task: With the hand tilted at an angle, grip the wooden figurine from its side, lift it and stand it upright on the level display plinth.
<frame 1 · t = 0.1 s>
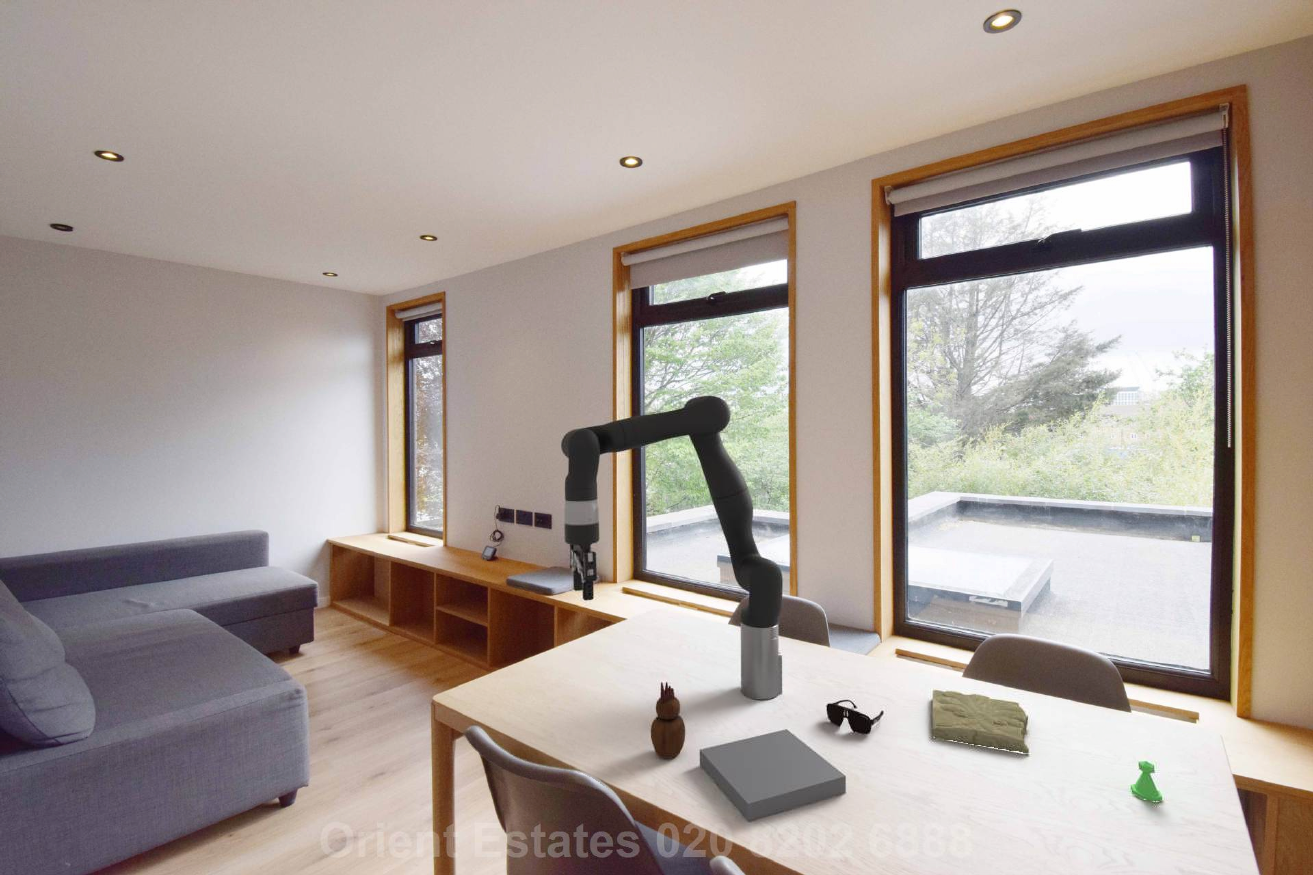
hand: (583, 594, 129), 29 cm above the table, tool pointing down, fingers open, 8 cm apart
sunglasses: (857, 722, 131), on the table
decorative tile: (979, 728, 129), on the table
wooden figurine: (668, 754, 118), on the table
display plinth: (769, 778, 109), on the table
game piece: (1146, 795, 104), on the table
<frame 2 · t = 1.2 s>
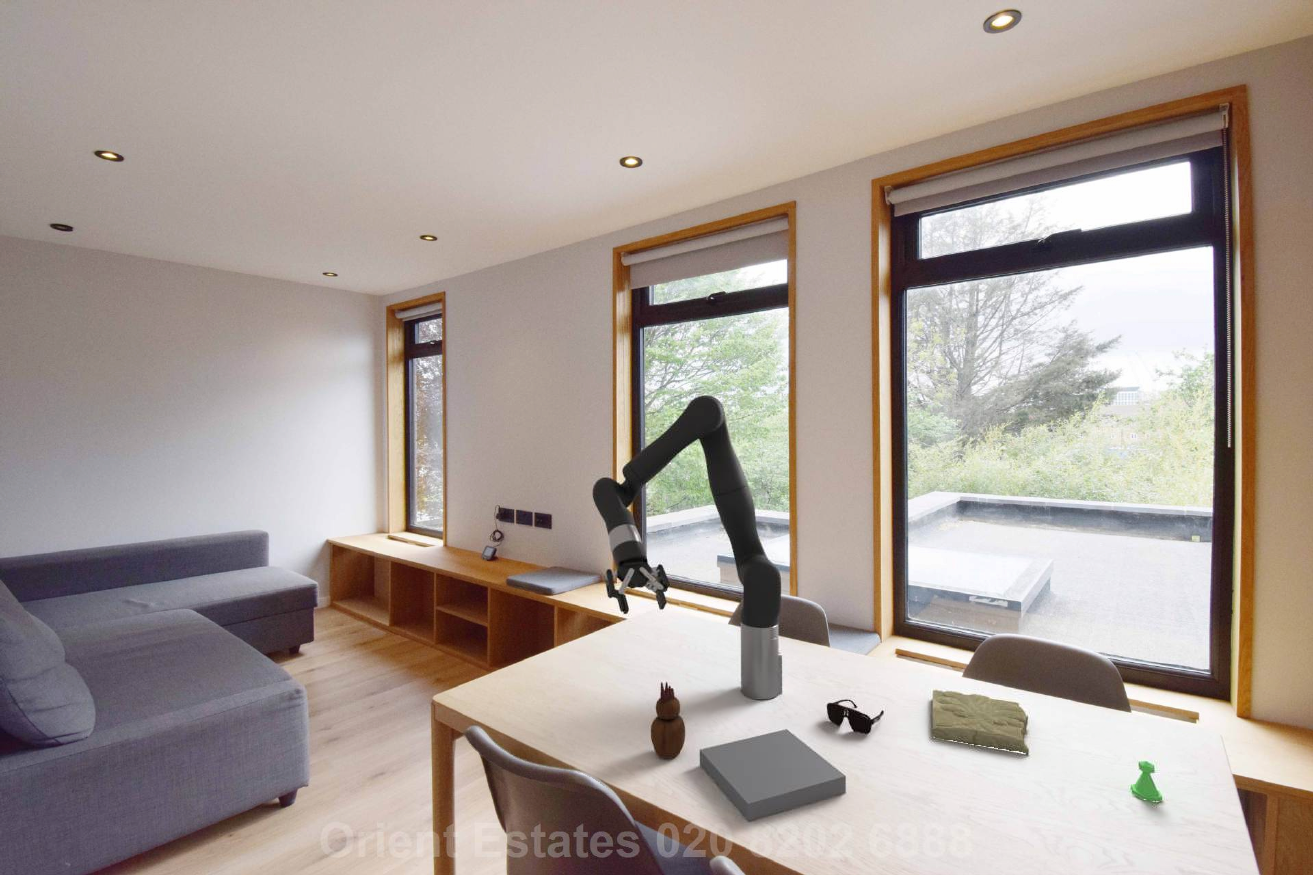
hand: (645, 609, 129), 25 cm above the table, tool tilted 45°, fingers open, 8 cm apart
nothing on the table moved.
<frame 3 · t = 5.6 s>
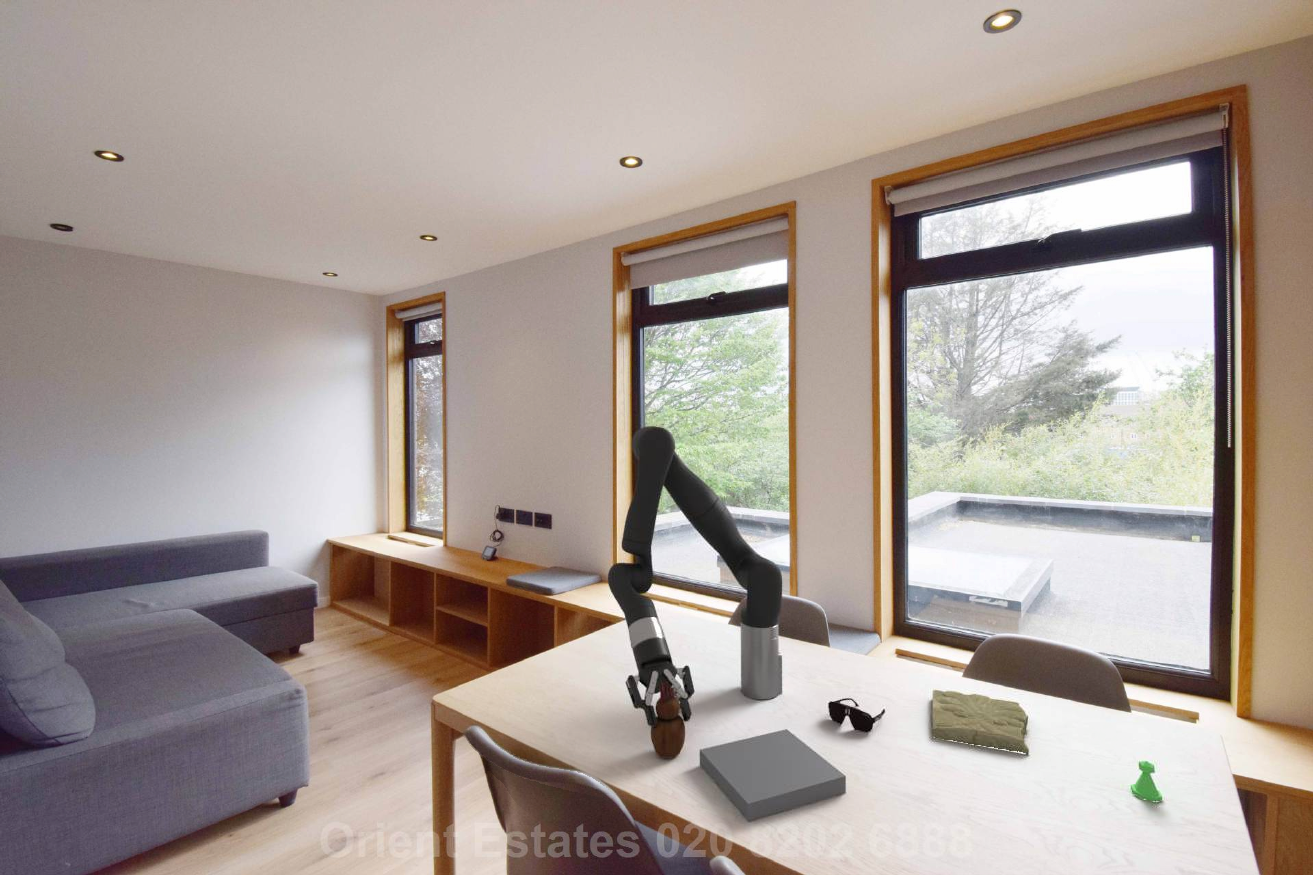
hand: (671, 723, 116), 7 cm above the table, tool tilted 45°, fingers closed on wooden figurine, 6 cm apart
wooden figurine: (668, 754, 118), on the table, touching gripper
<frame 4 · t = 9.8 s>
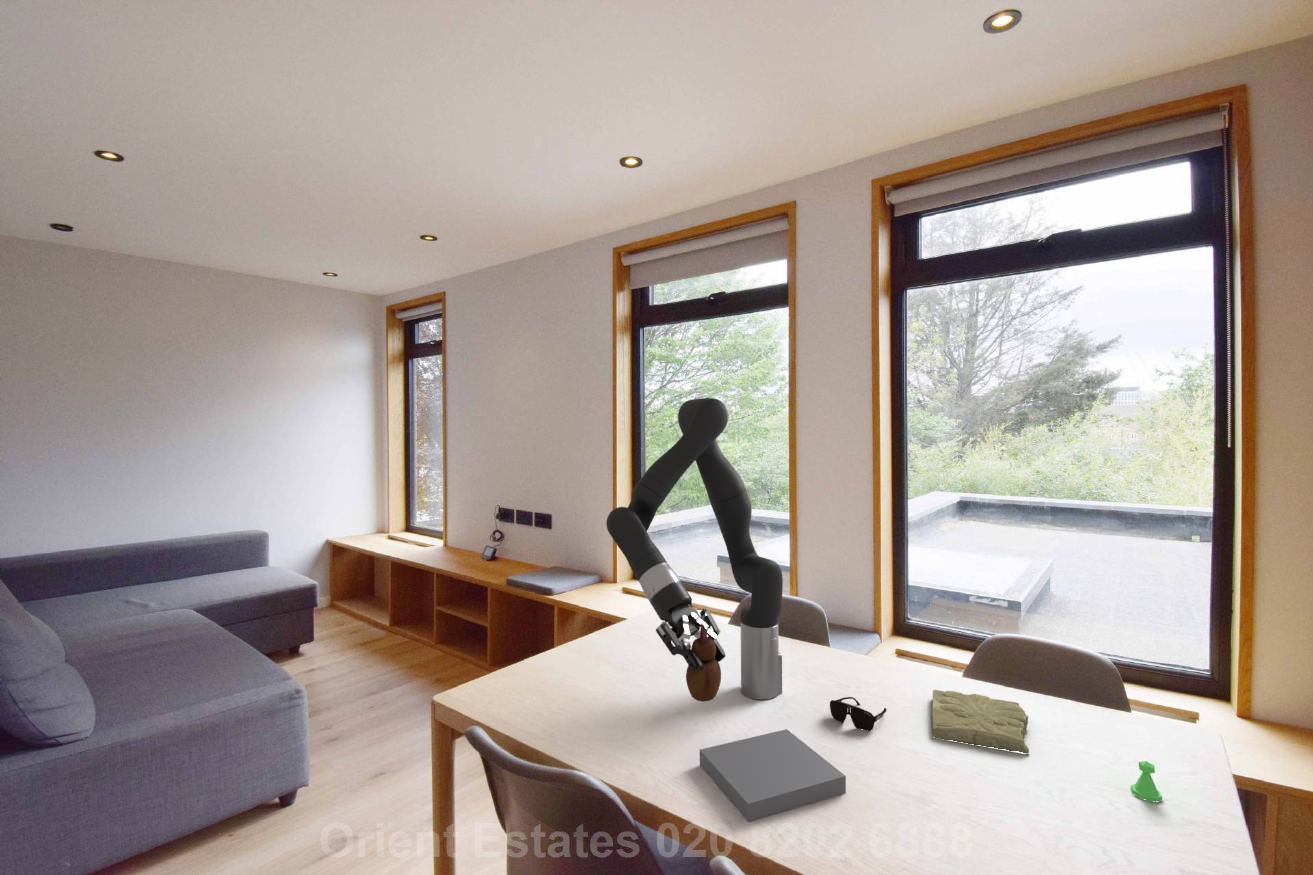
hand: (710, 664, 112), 20 cm above the table, tool tilted 45°, fingers closed on wooden figurine, 6 cm apart
wooden figurine: (703, 698, 113), point 13 cm above the table, touching gripper
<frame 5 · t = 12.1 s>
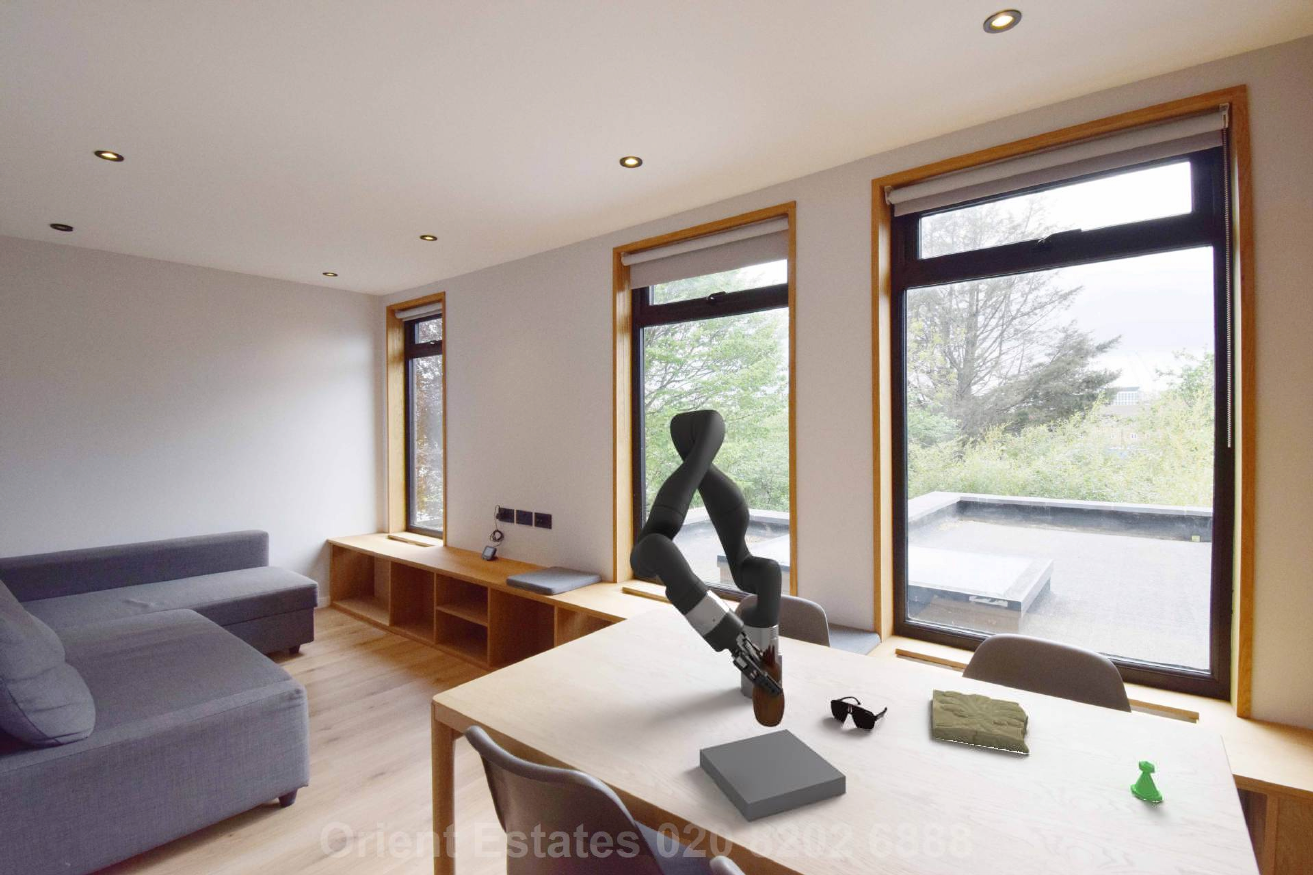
hand: (777, 685, 109), 17 cm above the table, tool tilted 45°, fingers closed on wooden figurine, 6 cm apart
wooden figurine: (768, 723, 109), point 10 cm above the table, touching gripper
when the fingers open (11 cm above the table, at t = 13.9 s): wooden figurine drops 1 cm, resting on display plinth.
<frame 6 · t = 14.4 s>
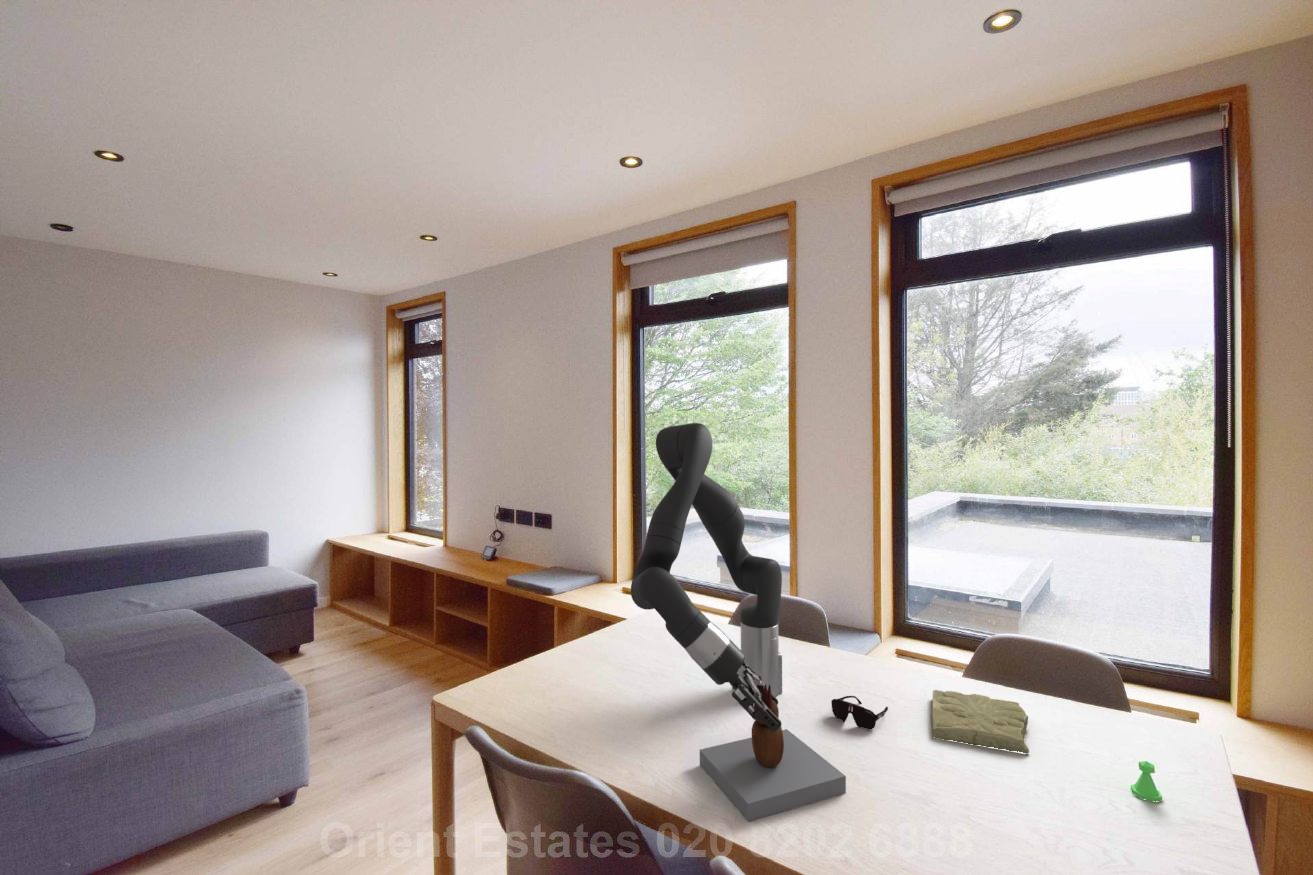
hand: (776, 716, 109), 12 cm above the table, tool tilted 45°, fingers open, 8 cm apart
wooden figurine: (768, 762, 109), point 3 cm above the table, touching display plinth
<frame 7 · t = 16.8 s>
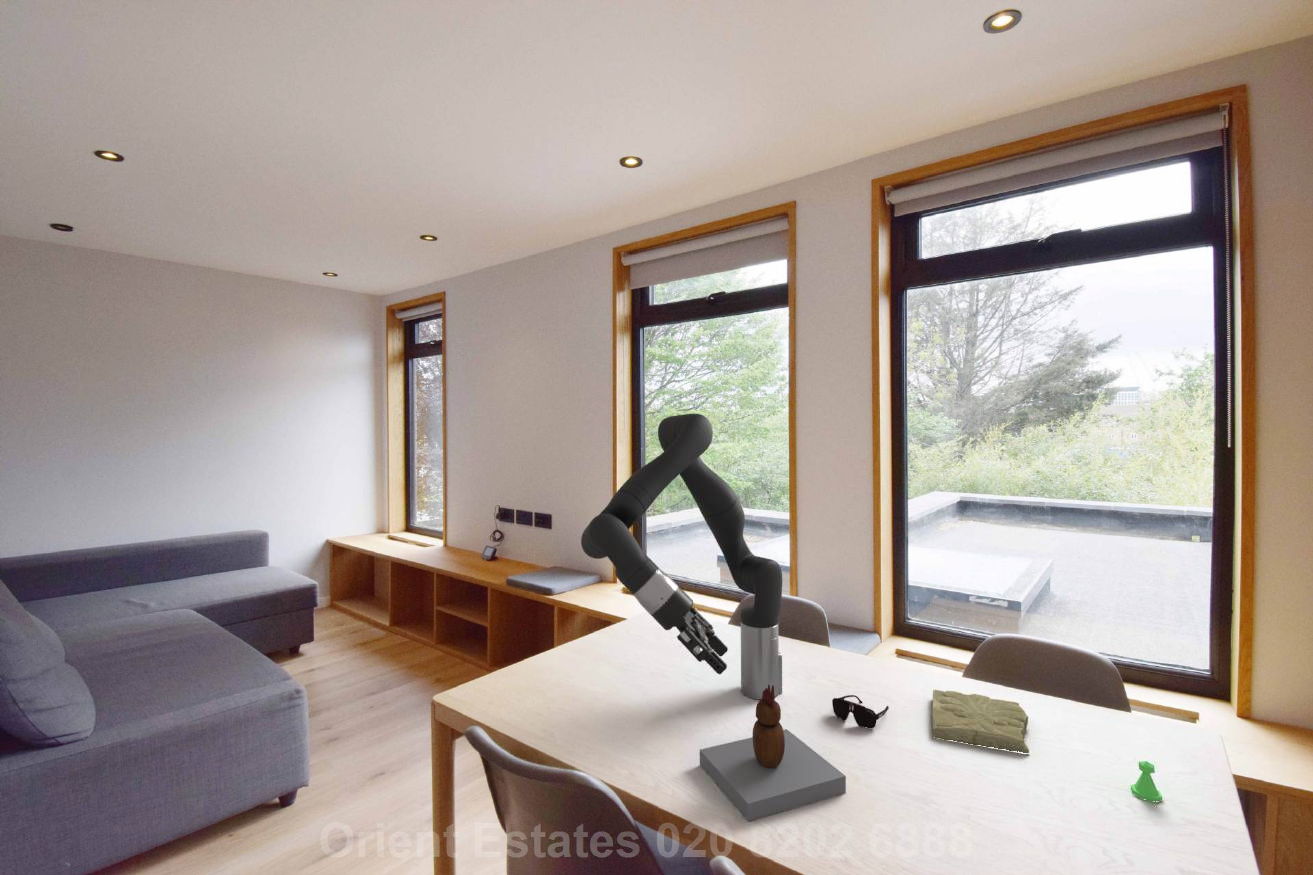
hand: (724, 661, 110), 21 cm above the table, tool tilted 45°, fingers open, 8 cm apart
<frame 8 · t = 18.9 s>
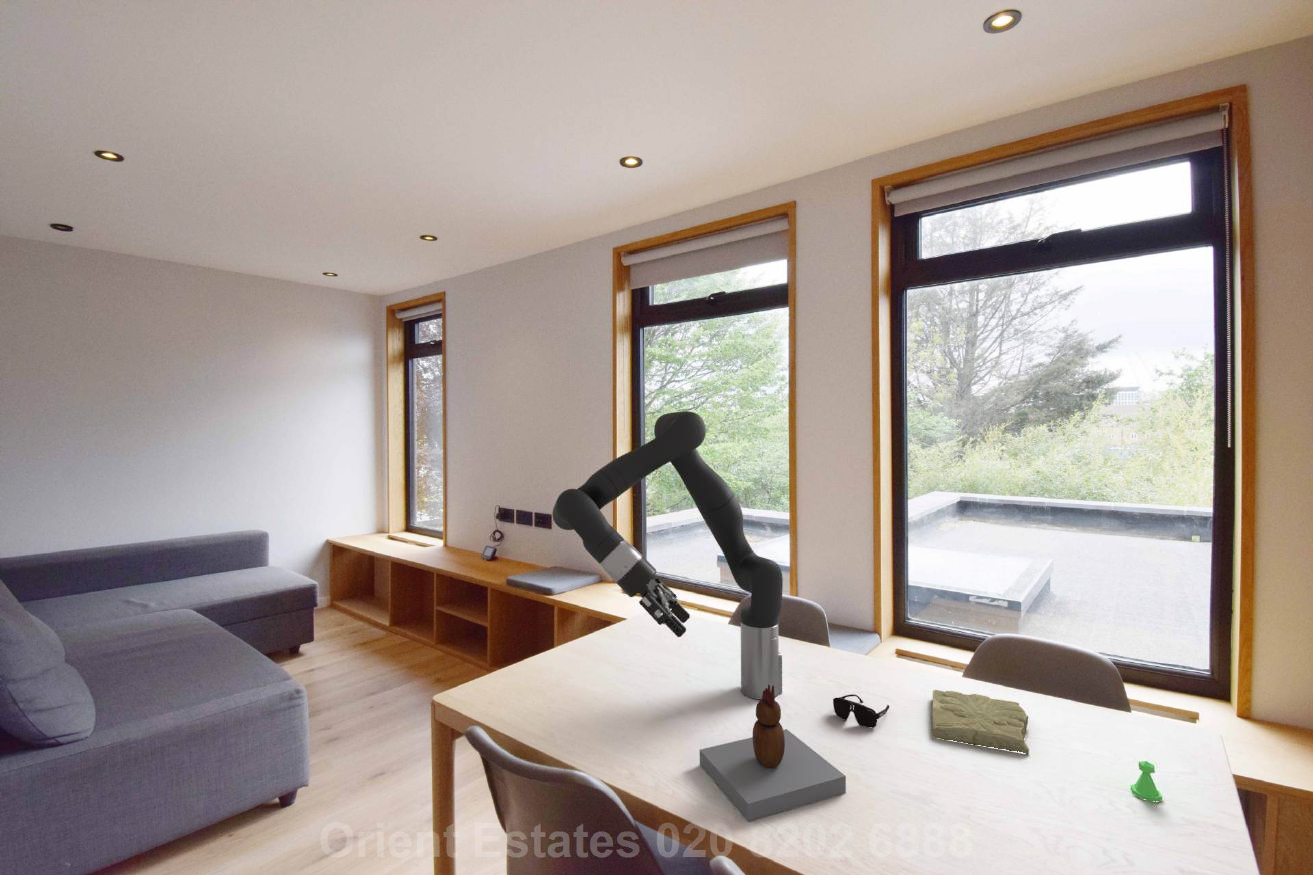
hand: (685, 626, 117), 26 cm above the table, tool tilted 45°, fingers open, 8 cm apart
at the end: wooden figurine inside the target area on the display plinth (0.1 cm from its centre), point 2.8 cm above the display plinth's base; wooden figurine tilted 0°; the gripper is holding nothing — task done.
